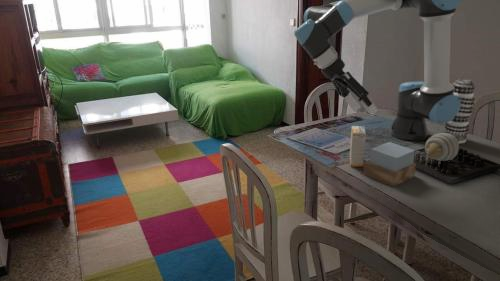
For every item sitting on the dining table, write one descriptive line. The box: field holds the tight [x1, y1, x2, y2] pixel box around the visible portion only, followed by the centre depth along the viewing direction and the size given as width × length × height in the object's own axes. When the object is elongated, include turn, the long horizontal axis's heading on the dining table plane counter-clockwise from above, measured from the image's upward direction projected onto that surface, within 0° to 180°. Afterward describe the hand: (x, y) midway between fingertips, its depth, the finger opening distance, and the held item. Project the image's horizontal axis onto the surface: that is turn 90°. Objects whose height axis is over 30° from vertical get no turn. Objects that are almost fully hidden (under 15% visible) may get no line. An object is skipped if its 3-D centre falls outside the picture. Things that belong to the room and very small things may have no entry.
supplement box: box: [349, 125, 367, 168], centre depth 139 cm, size 8×5×13 cm, turn 168°
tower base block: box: [362, 159, 417, 187], centre depth 130 cm, size 12×12×5 cm
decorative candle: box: [443, 78, 477, 144], centre depth 154 cm, size 9×9×25 cm
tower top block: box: [369, 141, 416, 172], centre depth 128 cm, size 10×10×5 cm
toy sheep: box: [424, 132, 460, 161], centre depth 137 cm, size 11×17×11 cm, turn 130°
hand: (365, 111), depth 131 cm, fingers open, 13 cm apart
